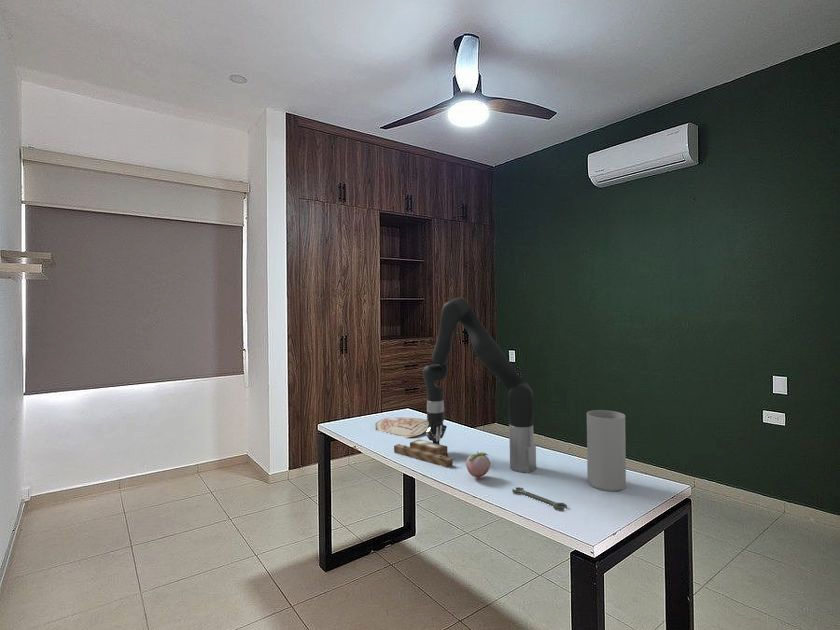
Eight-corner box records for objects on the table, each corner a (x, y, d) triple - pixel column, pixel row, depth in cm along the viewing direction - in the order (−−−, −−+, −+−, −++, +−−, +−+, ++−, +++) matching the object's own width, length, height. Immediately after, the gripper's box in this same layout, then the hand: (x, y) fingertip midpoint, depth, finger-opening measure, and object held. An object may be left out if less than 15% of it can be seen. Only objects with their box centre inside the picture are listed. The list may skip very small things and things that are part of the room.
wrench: (518, 489, 157) (518, 486, 157) (569, 508, 141) (569, 505, 141) (509, 493, 154) (509, 489, 154) (561, 513, 138) (561, 509, 138)
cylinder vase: (582, 477, 165) (581, 410, 164) (617, 477, 165) (616, 409, 164) (594, 492, 152) (594, 419, 152) (632, 491, 152) (631, 418, 152)
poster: (369, 436, 235) (414, 444, 217) (367, 424, 234) (413, 431, 216) (402, 421, 257) (446, 427, 239) (401, 410, 257) (445, 415, 238)
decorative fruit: (477, 471, 173) (476, 446, 173) (494, 477, 167) (493, 450, 167) (460, 478, 167) (460, 451, 167) (477, 484, 161) (477, 456, 161)
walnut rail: (452, 465, 180) (452, 456, 180) (448, 467, 178) (447, 458, 178) (398, 450, 200) (398, 442, 200) (394, 452, 198) (394, 444, 198)
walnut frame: (447, 458, 190) (447, 445, 189) (438, 461, 185) (438, 449, 185) (419, 450, 200) (418, 438, 200) (410, 454, 196) (409, 442, 195)
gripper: (438, 405, 204) (439, 443, 204) (419, 411, 194) (419, 451, 194) (451, 408, 199) (452, 447, 199) (432, 414, 189) (433, 455, 189)
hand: (436, 449), depth 197 cm, fingers closed
